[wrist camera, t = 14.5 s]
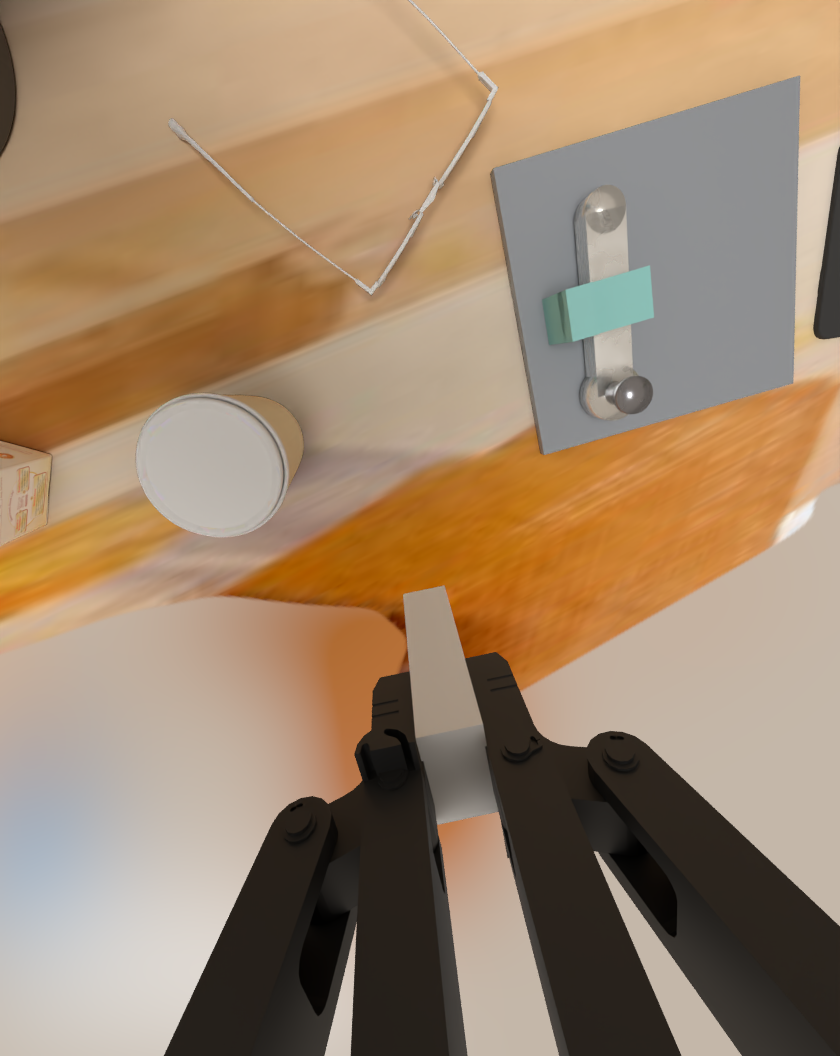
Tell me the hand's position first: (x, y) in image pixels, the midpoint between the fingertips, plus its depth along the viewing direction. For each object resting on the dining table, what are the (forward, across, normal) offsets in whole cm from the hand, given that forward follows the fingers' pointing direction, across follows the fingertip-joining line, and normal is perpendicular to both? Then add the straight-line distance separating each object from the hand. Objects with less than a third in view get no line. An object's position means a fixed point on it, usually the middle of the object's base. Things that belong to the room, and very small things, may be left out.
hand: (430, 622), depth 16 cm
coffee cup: (+27, -12, +5) cm, 29 cm away
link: (+25, +18, +9) cm, 32 cm away
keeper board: (+26, +23, +11) cm, 37 cm away
